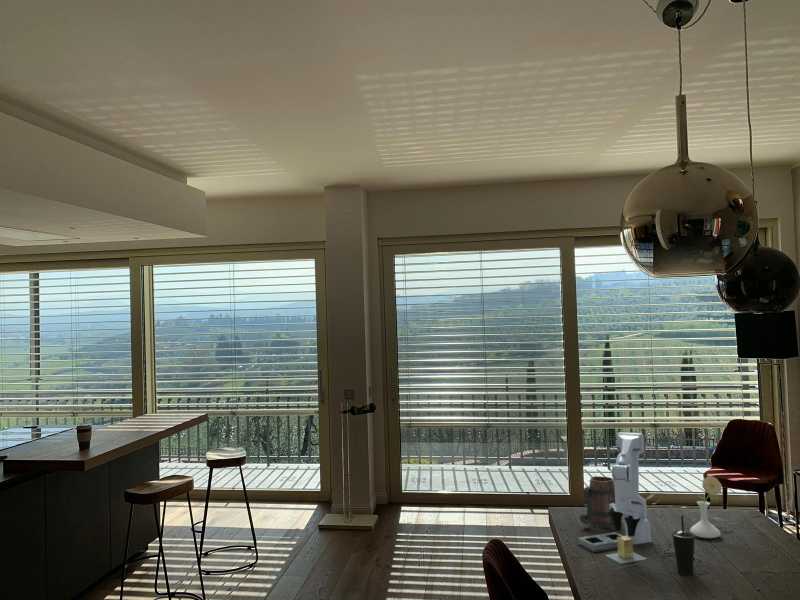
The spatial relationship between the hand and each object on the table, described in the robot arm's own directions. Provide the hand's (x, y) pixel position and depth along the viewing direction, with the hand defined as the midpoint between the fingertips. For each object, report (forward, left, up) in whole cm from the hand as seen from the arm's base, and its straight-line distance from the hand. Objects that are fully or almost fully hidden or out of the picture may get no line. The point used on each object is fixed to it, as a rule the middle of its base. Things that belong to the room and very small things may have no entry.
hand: (624, 532), depth 222 cm
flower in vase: (-47, -7, -10) cm, 48 cm away
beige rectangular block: (0, 0, -9) cm, 9 cm away
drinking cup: (-10, +19, -10) cm, 24 cm away
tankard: (-16, -37, -10) cm, 41 cm away
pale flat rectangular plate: (0, 0, -10) cm, 10 cm away
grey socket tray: (-1, -14, -10) cm, 17 cm away
